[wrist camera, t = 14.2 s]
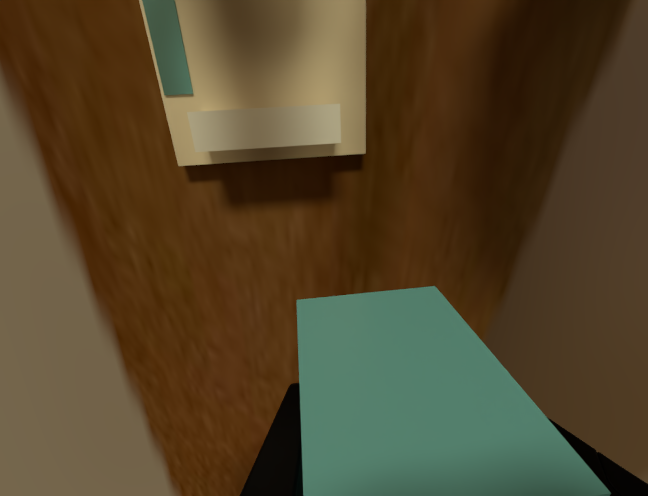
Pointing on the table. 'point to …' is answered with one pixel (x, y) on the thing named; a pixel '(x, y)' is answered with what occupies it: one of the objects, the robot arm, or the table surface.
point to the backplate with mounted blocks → (260, 77)
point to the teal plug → (419, 406)
